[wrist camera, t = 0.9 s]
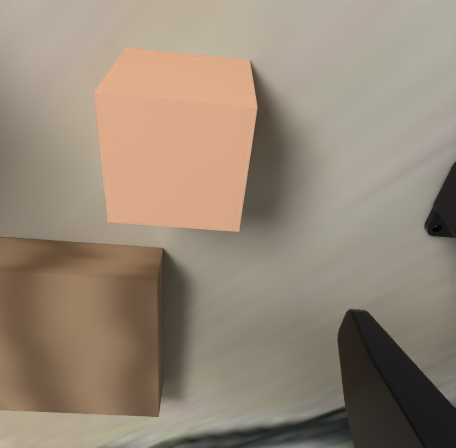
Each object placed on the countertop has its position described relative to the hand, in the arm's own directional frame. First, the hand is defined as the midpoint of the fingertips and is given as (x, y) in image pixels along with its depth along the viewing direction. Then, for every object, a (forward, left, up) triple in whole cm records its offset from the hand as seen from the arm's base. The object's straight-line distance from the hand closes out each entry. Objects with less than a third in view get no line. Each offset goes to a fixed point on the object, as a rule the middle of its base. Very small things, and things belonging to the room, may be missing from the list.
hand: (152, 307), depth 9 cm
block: (0, 0, -11) cm, 11 cm away
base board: (+8, +15, -11) cm, 20 cm away
